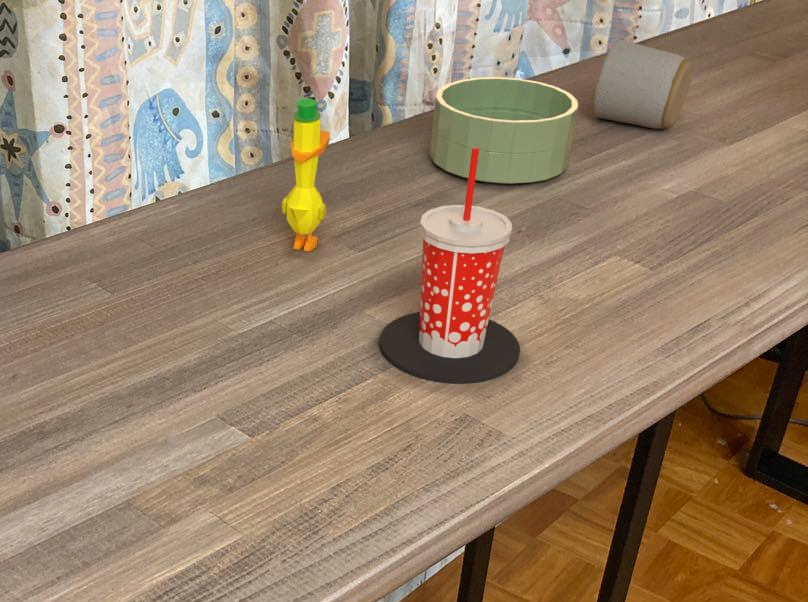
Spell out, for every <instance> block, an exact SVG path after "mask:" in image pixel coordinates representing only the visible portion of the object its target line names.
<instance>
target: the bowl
mask: <svg viewBox="0 0 808 602" xmlns="http://www.w3.org/2000/svg"><path fill="white" fill-rule="evenodd" d="M433 109H434V110H433V117H432V118H433V120H432V127H431V128H432V129H431V138H430V147H429V148H430V149H429V156H430V159H431V160H432V161H433V163H434V164H435V166H438V167H440V168H441V169H442V170H444V171H446V172H448V173H450V174H453V175H456V176H458V177H462V178H466V179H468V176H469V168H470V160H471V152H472V147H474V146H476V147H479V155H478V163H477V171H476V178H475V181H477V182H483V183H489V184H490V183H491V184H503V185H515V184H516V185H517V184H528V183H529V184H530V183H537V182H542V181H546V180H547V181H548V180H550V179H552V178H554V177H557V176H559V175H561V174H562V173H563V172H564V171H565V170H566V169H567V168H568V166H569V162H570V156H571V150H572V144H573V138H574V134H575V128H576V122H577V117H578V112H579V100H578V99H577V98H576V97H575V96H574V95H573V94H572V93H571V92H568V91H566V90H564V89H563V88H560V87H557V86H555V85H551V84H548V83H544V82H540V81H537V80H536V81H535V80H530V79H523V78H517V77H516V78H515V77H504V76H503V77H502V76H501V77H500V76H499V77H498V76H491V77H490V76H489V77H488V76H487V77H486V76H485V77H473V78H465V79H460V80H455V81H453V82H450V83H447V84H444V85H443V86H442V87H440V88H439V89H438V90H437V91H436V95H435V99H434V108H433Z"/></svg>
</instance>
